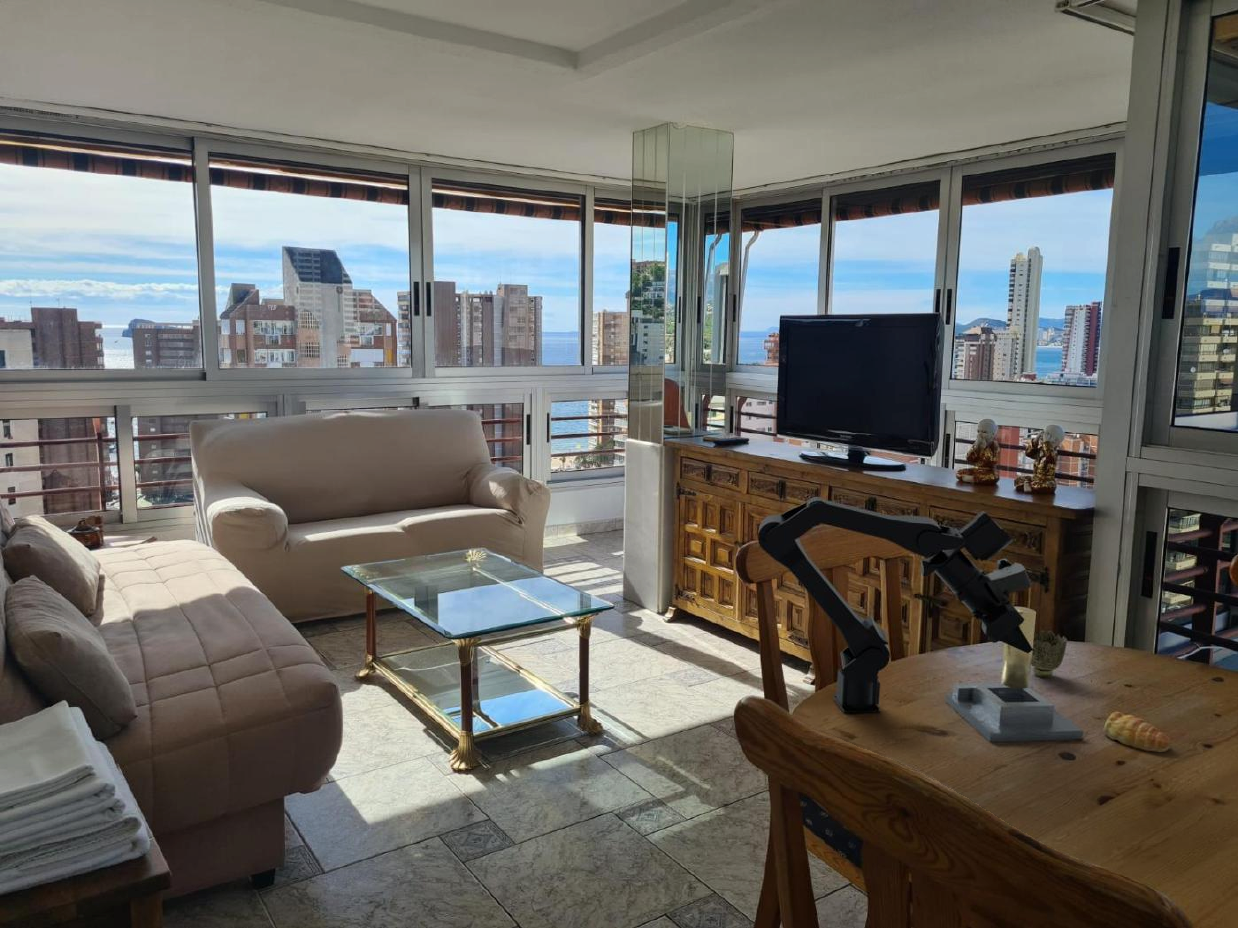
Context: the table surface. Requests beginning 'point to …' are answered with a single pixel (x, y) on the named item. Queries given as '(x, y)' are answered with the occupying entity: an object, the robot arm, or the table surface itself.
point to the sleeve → (1019, 655)
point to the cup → (1047, 653)
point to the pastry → (1136, 733)
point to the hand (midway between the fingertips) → (1026, 646)
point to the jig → (1010, 713)
